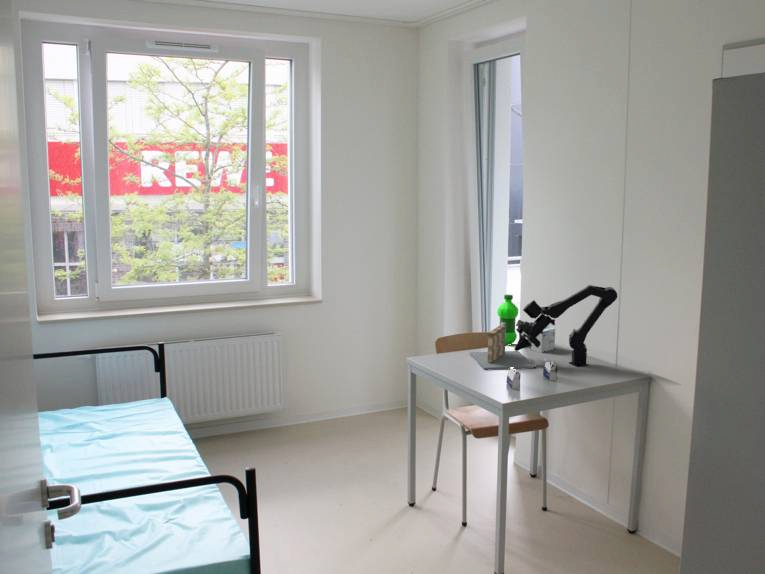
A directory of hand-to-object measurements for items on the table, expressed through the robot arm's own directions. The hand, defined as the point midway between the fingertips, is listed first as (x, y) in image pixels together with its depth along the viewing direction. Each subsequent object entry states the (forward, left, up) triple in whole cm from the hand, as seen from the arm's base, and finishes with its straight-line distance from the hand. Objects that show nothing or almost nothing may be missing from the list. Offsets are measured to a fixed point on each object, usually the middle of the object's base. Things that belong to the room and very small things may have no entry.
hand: (515, 350), depth 312 cm
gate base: (+5, +4, -6) cm, 9 cm away
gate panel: (+7, +6, -5) cm, 10 cm away
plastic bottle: (+32, -16, -6) cm, 37 cm away
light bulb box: (+15, -26, -6) cm, 31 cm away
